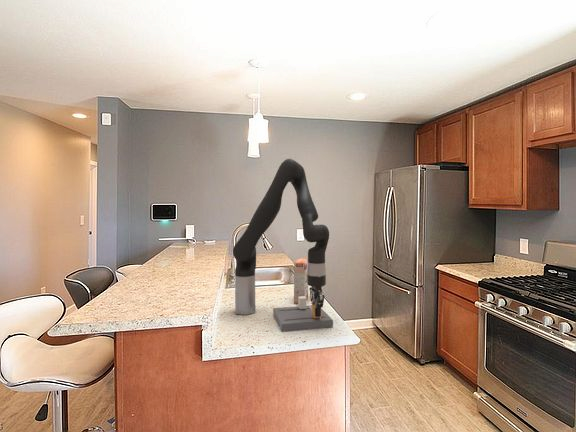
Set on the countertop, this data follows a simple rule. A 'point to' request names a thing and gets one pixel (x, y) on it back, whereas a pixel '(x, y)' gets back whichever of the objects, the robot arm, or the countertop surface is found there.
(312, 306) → the block
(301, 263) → the cracker box
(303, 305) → the white fader
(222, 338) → the countertop surface
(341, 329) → the countertop surface
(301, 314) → the mixer console
